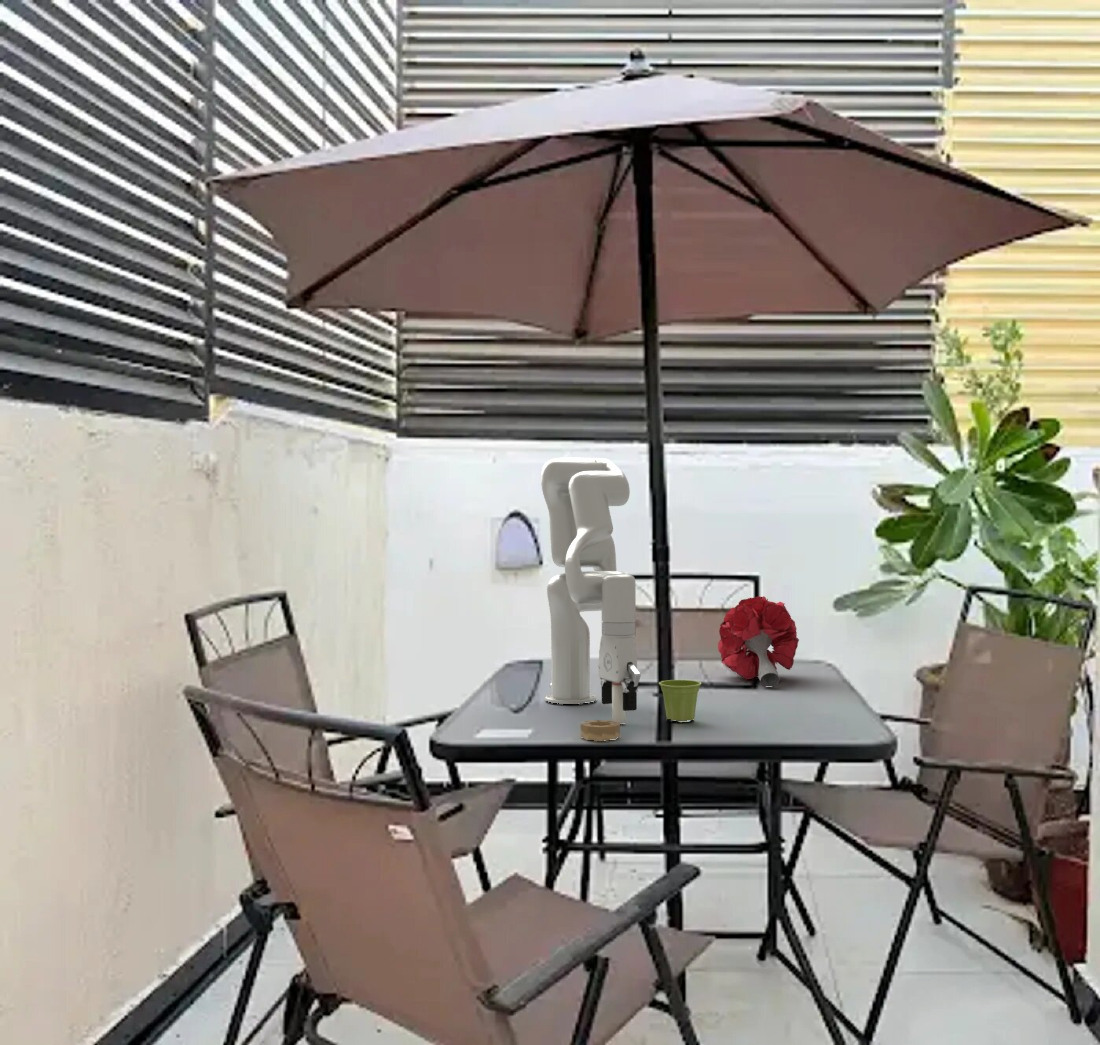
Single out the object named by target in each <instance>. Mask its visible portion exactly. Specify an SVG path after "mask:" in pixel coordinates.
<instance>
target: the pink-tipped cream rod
mask: <svg viewBox="0 0 1100 1045" xmlns="http://www.w3.org/2000/svg"><path fill="white" fill-rule="evenodd" d="M623 692H625V691H624V688H623V686H622V683H621V682H619V683H614V682H612V704H611V716H612V717H611V721H614V722H617V723H626V722H627V719H626V718H627V717H626V715H627V711H624V710H623Z"/></svg>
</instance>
